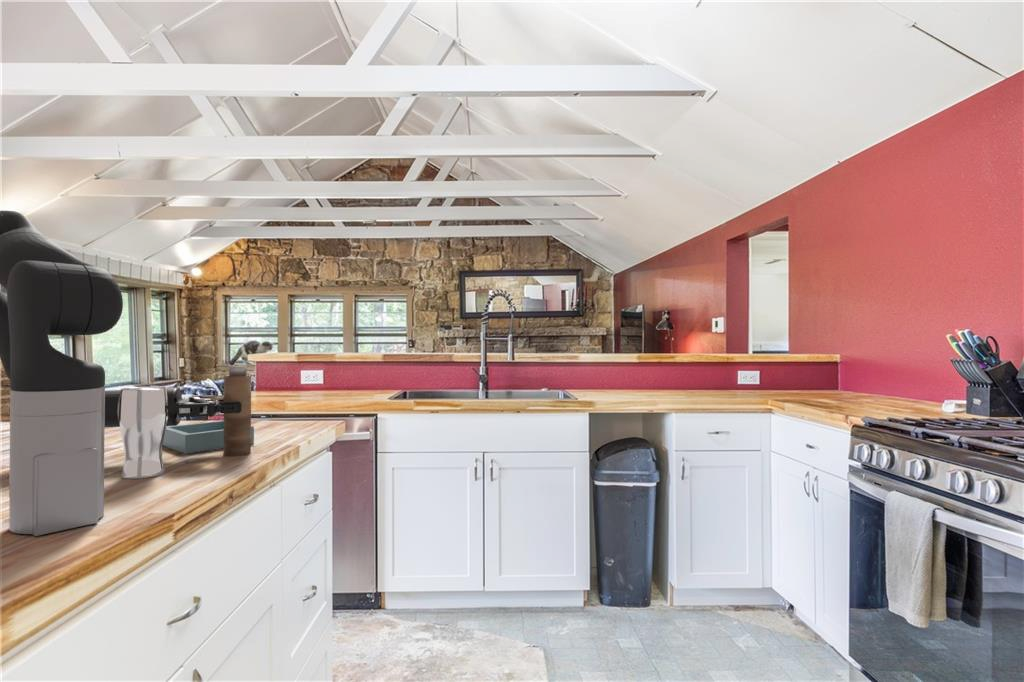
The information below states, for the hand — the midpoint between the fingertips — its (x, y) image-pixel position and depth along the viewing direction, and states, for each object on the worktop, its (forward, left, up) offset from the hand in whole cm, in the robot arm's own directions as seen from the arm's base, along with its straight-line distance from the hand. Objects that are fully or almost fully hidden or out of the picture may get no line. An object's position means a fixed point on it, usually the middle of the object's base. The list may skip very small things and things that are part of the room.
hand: (243, 404), depth 109 cm
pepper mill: (+1, +1, -10) cm, 10 cm away
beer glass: (-4, +19, -10) cm, 22 cm away
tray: (+15, +1, -10) cm, 18 cm away
